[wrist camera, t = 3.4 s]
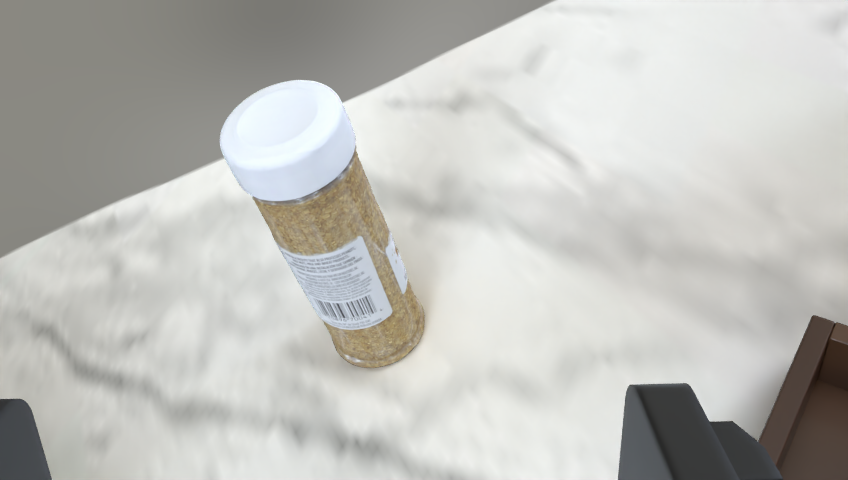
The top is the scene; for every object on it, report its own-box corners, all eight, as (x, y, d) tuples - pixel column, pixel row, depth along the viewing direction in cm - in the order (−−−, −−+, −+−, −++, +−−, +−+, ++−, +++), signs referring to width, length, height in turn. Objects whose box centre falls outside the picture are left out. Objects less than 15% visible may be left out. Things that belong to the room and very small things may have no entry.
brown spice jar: (440, 300, 38) (362, 79, 28) (404, 382, 35) (304, 171, 25) (356, 283, 39) (254, 70, 29) (316, 360, 37) (190, 155, 27)
